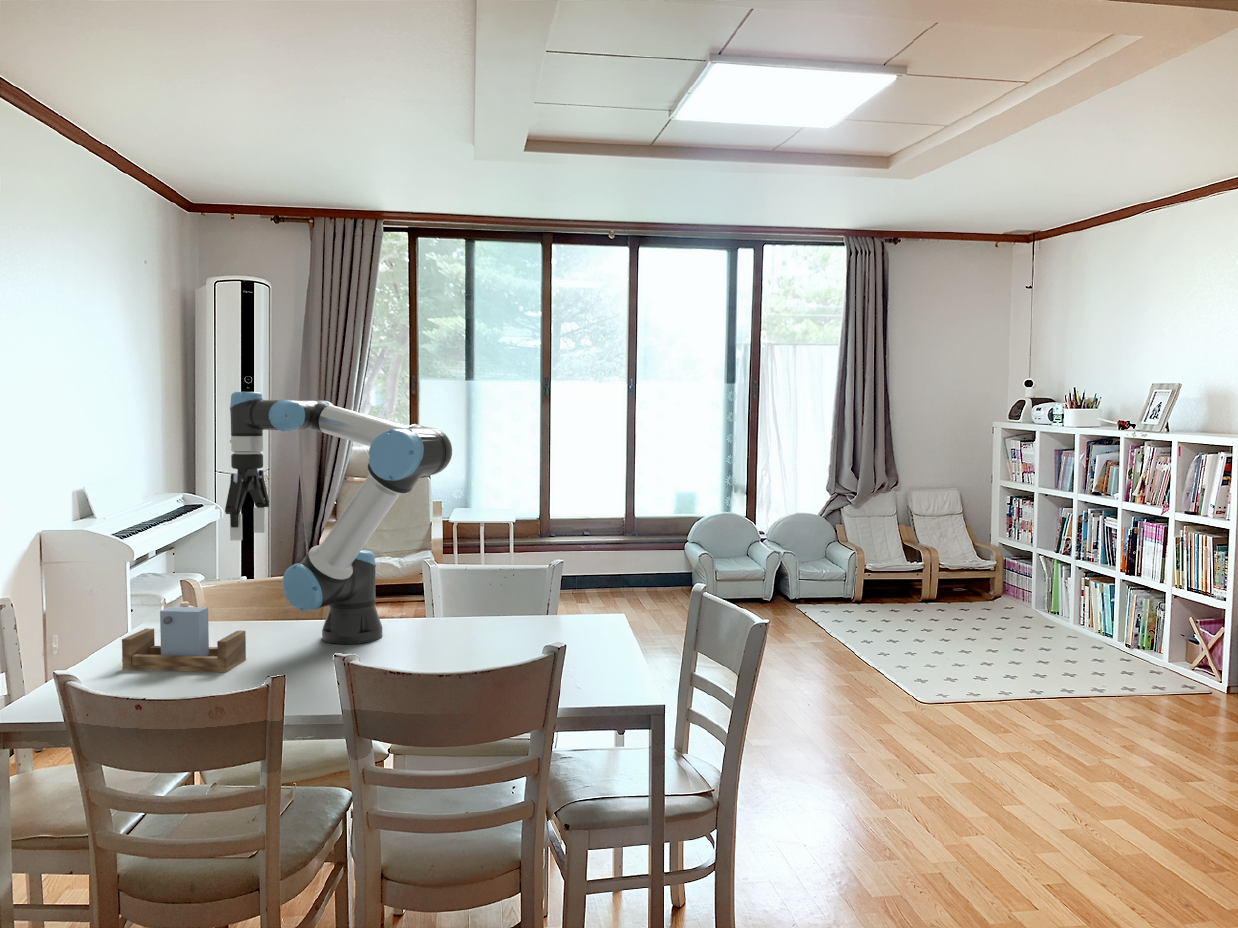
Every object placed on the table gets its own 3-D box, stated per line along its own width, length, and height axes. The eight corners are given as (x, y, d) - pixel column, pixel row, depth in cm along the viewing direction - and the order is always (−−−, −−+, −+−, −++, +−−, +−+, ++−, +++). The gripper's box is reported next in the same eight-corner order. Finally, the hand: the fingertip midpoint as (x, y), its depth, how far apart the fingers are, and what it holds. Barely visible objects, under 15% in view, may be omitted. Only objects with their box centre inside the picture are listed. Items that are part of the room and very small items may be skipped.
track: (245, 659, 221) (245, 630, 220) (226, 672, 211) (226, 641, 210) (146, 657, 222) (145, 628, 221) (122, 669, 212) (121, 639, 211)
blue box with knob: (208, 658, 218) (208, 607, 218) (197, 664, 213) (196, 612, 212) (171, 657, 219) (170, 606, 218) (158, 663, 213) (157, 611, 212)
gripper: (253, 450, 248) (254, 529, 250) (209, 455, 224) (210, 543, 225) (281, 450, 248) (282, 529, 250) (239, 456, 223) (241, 543, 225)
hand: (248, 536), depth 237 cm, fingers open, 13 cm apart
